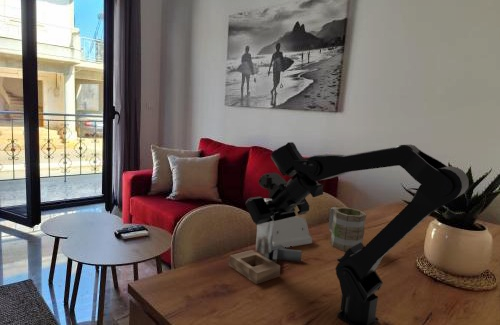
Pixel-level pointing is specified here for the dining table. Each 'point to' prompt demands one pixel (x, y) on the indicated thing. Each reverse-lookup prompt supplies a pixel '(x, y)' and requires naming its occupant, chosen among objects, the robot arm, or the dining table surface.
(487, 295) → the dining table surface
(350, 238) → the mug
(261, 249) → the axle
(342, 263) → the robot arm
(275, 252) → the v block
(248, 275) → the rectangular block with hole
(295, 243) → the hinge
